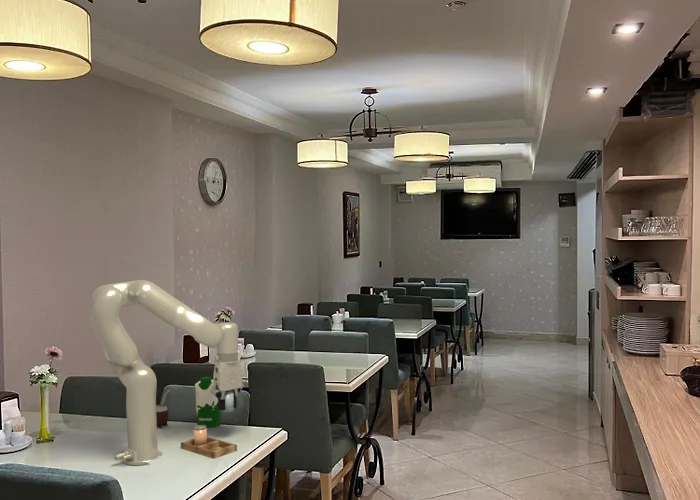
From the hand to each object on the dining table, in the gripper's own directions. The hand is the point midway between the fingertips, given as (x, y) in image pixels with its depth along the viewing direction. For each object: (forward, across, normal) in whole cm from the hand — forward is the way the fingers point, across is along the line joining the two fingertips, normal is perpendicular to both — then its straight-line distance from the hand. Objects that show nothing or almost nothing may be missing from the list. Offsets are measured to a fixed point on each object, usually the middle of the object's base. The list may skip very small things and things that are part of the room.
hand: (227, 408), depth 235 cm
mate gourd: (+13, -2, +40) cm, 42 cm away
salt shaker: (+1, 0, 0) cm, 1 cm away
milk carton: (+13, +8, +22) cm, 26 cm away
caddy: (+13, -11, -3) cm, 17 cm away
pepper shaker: (+12, -11, +1) cm, 16 cm away
